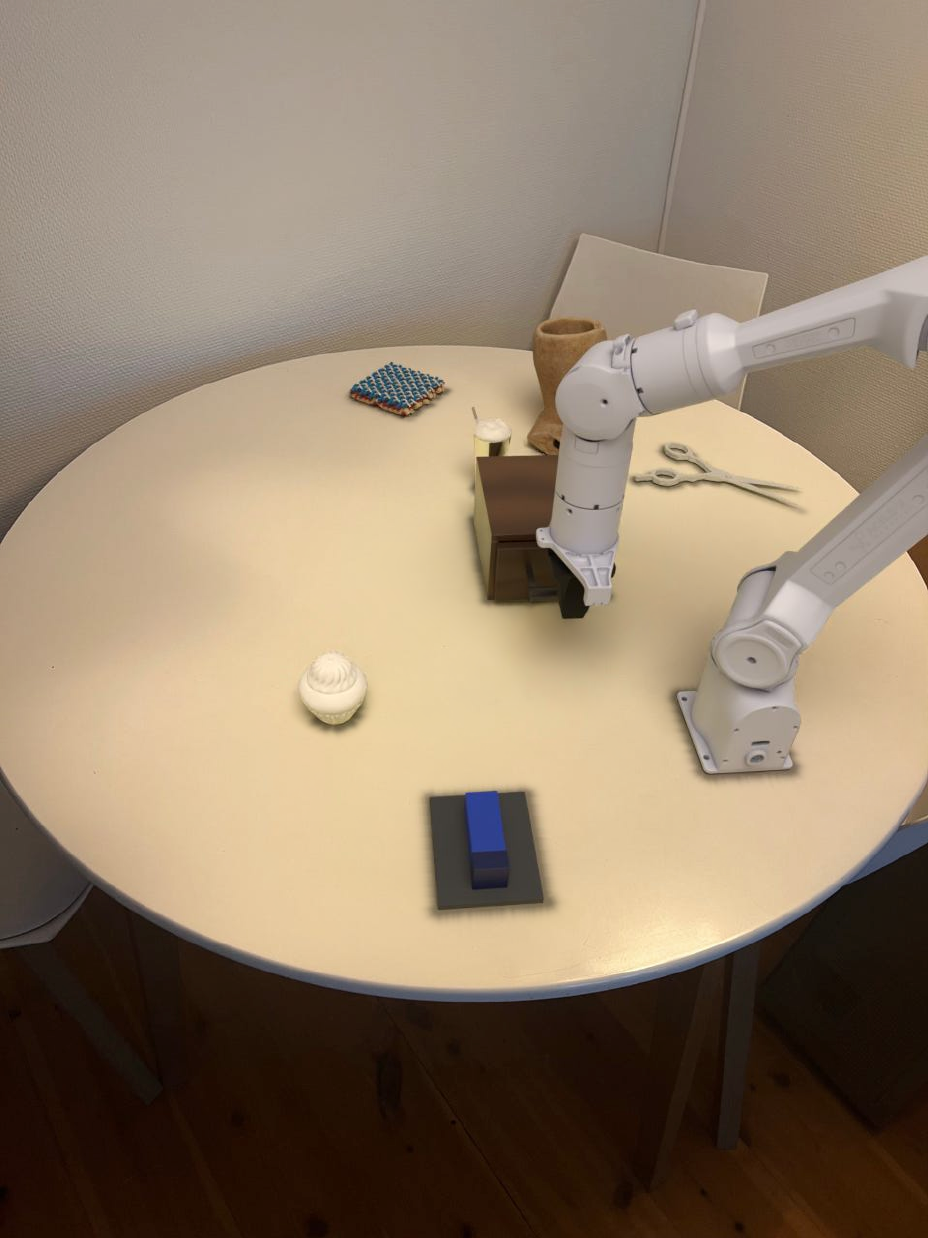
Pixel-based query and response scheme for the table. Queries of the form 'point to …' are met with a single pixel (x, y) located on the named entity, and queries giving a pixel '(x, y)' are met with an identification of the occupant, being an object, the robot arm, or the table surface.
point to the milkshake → (491, 437)
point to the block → (486, 841)
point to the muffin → (332, 687)
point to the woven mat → (397, 389)
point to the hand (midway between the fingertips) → (571, 613)
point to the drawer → (523, 572)
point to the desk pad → (456, 861)
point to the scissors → (711, 473)
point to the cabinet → (511, 503)
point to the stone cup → (558, 369)
